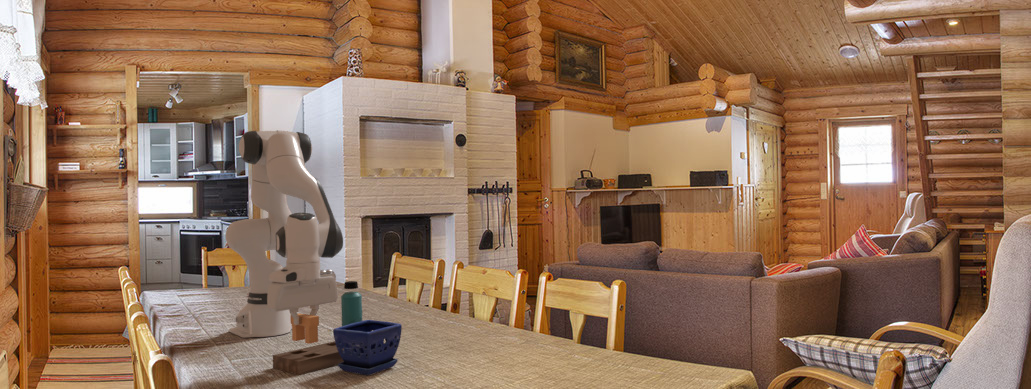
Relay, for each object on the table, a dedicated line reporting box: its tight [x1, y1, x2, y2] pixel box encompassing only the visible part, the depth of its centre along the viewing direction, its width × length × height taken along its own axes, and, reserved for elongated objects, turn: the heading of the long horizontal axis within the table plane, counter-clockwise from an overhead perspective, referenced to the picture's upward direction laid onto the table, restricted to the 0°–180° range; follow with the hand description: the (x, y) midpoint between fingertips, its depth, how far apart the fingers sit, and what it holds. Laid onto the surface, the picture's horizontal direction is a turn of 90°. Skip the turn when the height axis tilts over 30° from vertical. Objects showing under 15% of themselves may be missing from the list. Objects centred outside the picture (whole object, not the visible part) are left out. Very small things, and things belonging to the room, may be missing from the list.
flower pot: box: [332, 319, 402, 376], centre depth 181 cm, size 13×13×12 cm
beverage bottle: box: [340, 280, 364, 327], centre depth 209 cm, size 6×7×20 cm
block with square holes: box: [272, 340, 344, 376], centre depth 191 cm, size 12×24×4 cm, turn 141°
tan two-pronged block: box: [290, 312, 320, 345], centre depth 186 cm, size 9×3×7 cm, turn 51°
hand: (304, 323), depth 186 cm, fingers closed on tan two-pronged block, 3 cm apart
